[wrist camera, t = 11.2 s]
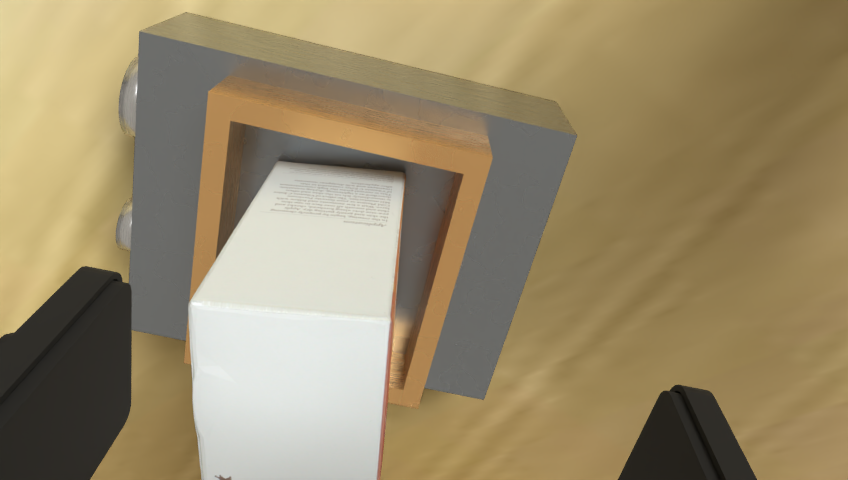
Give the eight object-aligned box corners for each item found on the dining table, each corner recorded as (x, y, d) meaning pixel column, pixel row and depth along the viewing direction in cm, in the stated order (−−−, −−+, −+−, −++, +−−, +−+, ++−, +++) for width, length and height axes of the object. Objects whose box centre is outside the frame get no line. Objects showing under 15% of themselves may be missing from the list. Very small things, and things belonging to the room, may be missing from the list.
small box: (397, 311, 35) (377, 512, 23) (277, 301, 35) (197, 498, 23) (409, 167, 31) (394, 319, 20) (275, 155, 31) (179, 302, 20)
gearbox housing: (556, 101, 36) (590, 156, 28) (477, 338, 43) (487, 437, 35) (162, 6, 34) (77, 36, 26) (148, 270, 41) (77, 358, 33)
